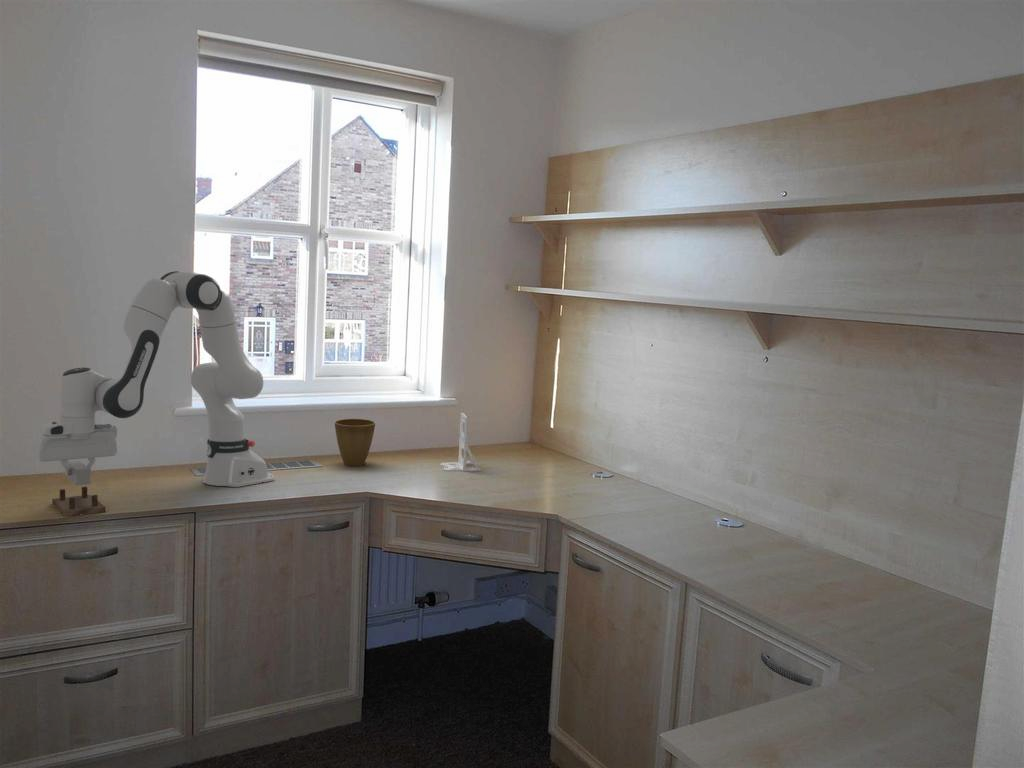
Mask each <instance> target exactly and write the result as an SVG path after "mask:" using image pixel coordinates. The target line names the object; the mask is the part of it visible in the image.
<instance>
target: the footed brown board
mask: <svg viewBox="0 0 1024 768" xmlns="http://www.w3.org/2000/svg"><path fill="white" fill-rule="evenodd" d="M51 500H52V501H51V502H52V503H53V504H54V505H55V506H56V507H57V508H58V509H59V510H60V511H61V512H62V513H63V514H64V515H65V516H71V517H75V516H74V515H78V516H81V515H80V514H86V515H89V514H88V513H94V514H98V513H97V512H102V513H106V506H105V505H104V504H102V503H101V502H100V501H99V498H98V494H92V495H91V494H88V486H81V495H76V496H75V495H74V496H66V489H65V488H60V489H59V497H56V498H52V499H51ZM53 504H52V505H53ZM54 505H53V506H54ZM55 506H54V507H55ZM56 507H55V508H56ZM57 508H56V509H57ZM58 509H57V510H58ZM59 510H58V511H59ZM60 511H59V512H60ZM61 512H60V513H61ZM62 513H61V514H62ZM63 514H62V515H63ZM64 515H63V516H64ZM72 515H73V516H72ZM65 516H64V517H65Z"/></svg>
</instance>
